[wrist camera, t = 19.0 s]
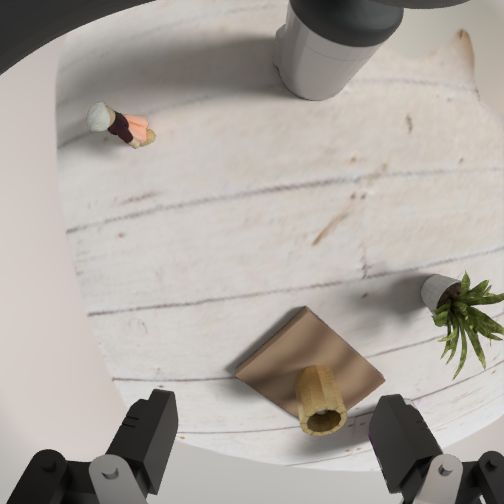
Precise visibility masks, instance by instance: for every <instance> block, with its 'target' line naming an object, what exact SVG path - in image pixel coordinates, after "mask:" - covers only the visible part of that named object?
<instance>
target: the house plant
mask: <svg viewBox="0 0 504 504" xmlns="http://www.w3.org/2000/svg"><path fill="white" fill-rule="evenodd" d="M488 282H489V280H485V281H483V282H481V283H480V284H478V285H477V286H476V287H474V288H473V289H471V290H470V288H469V286H470V279H469V277H468V275H467V273H466V270H465V275H464V277H463V279H462V281H460V280H457V279H453V278H450V277H446V276H442V275H439V274H434V275H432V276H431V277H429V278H428V279H427V280H426V281H425V282H424V284H423V286H422V289H421V298H422V300H423V302H424V303H425V304H426V306H427V307H428V309H429V310H430V311H431V313H432V314H433V316H432V318H433V320H434V322H435V325H436V326H438V327H441V326H448V334H447V337H444V338H442V339H441V340H439V341H447V342H446V346H445V351H444V353H443V354H442V356H441V358H442V357H443V356H444V355H445V354H446V352H447V351H448V350H450V349H452V352H451V356H450V358H449V360H448V361H447V363H448V362H449V361H450V360H451V359H452V357H453V356H454V353H455V351H456V346H457V342H458V337H459V327H460V331H461V337H462V353H461V358H460V363H459V367H458V370H457V372H456V373H455V375H454V377H453V379H454V378H455V377H456V376H457V375H458V373H459V372H460V370H461V369H462V367H463V365H464V362H465V359H466V354H467V342H466V337H465V331H466V332H467V334H468V336H469V338H470V341H471V343H472V345H473V347H474V350H475V352H476V354H477V356H478V358H479V360H480V361H481V362H482V365H483V367H484V369H485V357H484V353H483V350H482V348H481V345H480V343H479V340H478V335H477V332H479V333H481V334H482V335H483V336H485V337H487V338H489V339H490V345H491V339H494V340H503V339H501V338H499V337H497V336H495V335H493V334H491V333H500V334H502V335H504V328H503V327H502V326H501V325H499V324H498V323H496V322H495V321H494V320H492V319H491V318H490V317H489V316H487V315H486V314H485V313H482V312H481V311H479V310H478V309H476V308H474V307H471V306H473V305H486V304H494V303H498V302H501V301H502V300H504V293H503V294H499V295H495V294H490V293H488V292H489V291H490V289H491V286H489V287H488V288H487V289H486V290H485V288H486V287H487V285H488ZM484 290H485V291H484ZM482 291H483V292H482ZM483 296H489V297H483ZM471 297H473V298H471ZM451 325H452V326H453V332H452V333H451ZM464 329H465V331H464ZM451 339H452V341H451ZM450 341H451V343H450ZM503 341H504V340H503ZM447 363H446V364H447Z"/></svg>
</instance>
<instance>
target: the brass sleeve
mask: <svg viewBox="0 0 504 504" xmlns="http://www.w3.org/2000/svg"><path fill="white" fill-rule="evenodd" d="M294 385H295V392H296V399H297V406H298V413H299V421H300V425H301V428H302V431H304V432H305V433H307V434H309V435H313V436H324V435H327V434H331V433H334V432H335V431H337V430H338V429H340V428H341V427H343V425H344V423H345V422H346V420H347V413H346V409H345V406H344V403H343V400H342V397H341V394H340V391H339V388H338V385H337V382H336V379H335V376H334V373H333V371H332V370H330V369H329V368H328V367H326V366H320V365H314V366H310V367H307V368H305V369H303V370H302V371H301V372H300V373H299V374H297V377H296V379H295V382H294ZM326 409H327V410H328V412H326V413H325V414H317V413H316V412H318V411H322V410H326Z"/></svg>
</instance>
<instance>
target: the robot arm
mask: <svg viewBox="0 0 504 504" xmlns="http://www.w3.org/2000/svg"><path fill="white" fill-rule="evenodd" d="M152 1H155V0H0V75H1V74H2V73H4V72H5V71H6V70H8V69H9V68H10V67H12V66H13V65H15V64H16V63H17V62H19V61H20V60H21V59H23V58H24V57H26V56H28V55H29V54H31V53H32V52H34V51H35V50H37V49H39V48H40V47H42V46H43V45H45V44H47V43H49V42H50V41H52V40H54V39H56V38H57V37H59V36H62V35H63V34H66V33H68V32H70V31H72V30H74V29H76V28H78V27H80V26H83V25H85V24H87V23H90V22H92V21H94V20H97V19H100V18H102V17H105V16H107V15H110V14H113V13H116V12H119V11H122V10H125V9H128V8H131V7H134V6H138V5H141V4H145V3H148V2H152ZM467 1H469V0H289V3H288V10H287V17H286V24H284V25H283V26H282V27H280V28H279V29H278V30H277V31H276V38H275V49H274V60H273V64H274V65H275V66H277V68H278V69H279V72H280V77H281V79H282V81H283V83H284V84H285V85H286V87H287V88H288V89H289V90H290V91H292V92H293V93H294V94H296V95H298V96H299V97H302V98H305V99H308V100H326V99H329V98H331V97H334V96H335V95H336V94H338V93H339V92H340V91H341V90H342V89H343V88H344V87H345V85H346V84H347V83H348V82H349V81H350V80H351V78H352V77H353V76H354V75H355V74H356V73H357V72H358V71H359V70H360V68H361V67H362V66H363V65H364V64H365V63H366V62H367V61H368V60H369V59H370V58H371V56H372V55H373V54H374V53H375V52H376V51H377V50H378V49H379V48H380V47H381V46H382V45H383V43H384V42H385V41H386V40H387V39H388V38H389V37H390V36H391V35H392V34H393V33H394V32H395V30H396V29H397V28H398V27H399V25H400V23H401V21H402V18H403V12H404V10H403V9H404V8H410V9H434V8H444V7H450V6H454V5H458V4H462V3H464V2H467ZM177 430H178V413H177V407H176V400H175V394H174V392H172V391H166V390H160V389H154V390H153V391H152V393H151V395H150V397H149V399H148V400H145V399H139V400H138V401H137V402H136V403H134V404H133V405H132V406H131V407H130V409H129V411H128V412H127V414H126V417H125V418H124V420H123V422H122V425H121V426H120V427H119V429H118V431H117V433H116V435H115V437H114V439H113V441H112V443H111V444H110V447H109V448H108V450H107V452H106V453H105V455H102V456H99V457H97V458H96V459H94V460H93V461H92V462H78V461H67V460H65V458H64V457H63V456H62V454H61V453H59V452H57V451H55V450H51V449H46V450H42V451H39V452H37V453H36V454H35V455H34V456H33V458H32V459H31V461H30V463H29V464H28V466H27V468H26V469H25V471H24V473H23V475H22V476H21V478H20V480H19V482H18V483H17V485H16V487H15V489H14V490H13V492H12V494H11V496H10V498H9V499H8V501H7V503H6V504H148V503H147V501H146V498H147V495H148V493H150V494H154V495H157V493H158V490H159V487H160V484H161V481H162V477H163V474H164V471H165V468H166V465H167V462H168V458H169V455H170V452H171V449H172V446H173V443H174V440H175V437H176V434H177ZM369 430H370V436H371V439H372V441H373V444H374V447H375V449H376V452H377V455H378V458H379V461H380V464H381V466H382V469H383V472H384V475H385V478H386V481H387V484H388V487H389V490H390V493H391V494H393V493H397V492H401V493H402V495H403V498H402V500H401V502H400V504H482V503H481V500H480V498H479V497H480V496H481V495H483V498H484V499H485V502H486V504H504V457H503V456H502V455H501V454H500V453H498V452H496V451H488V452H486V453H484V454H483V455H482V456H481V457H480V459H479V460H478V461H472V462H461V461H460V460H459V459H458V458H457V457H455V456H453V455H450V454H443V453H442V451H441V449H440V447H439V445H438V444H437V442H436V440H435V438H434V436H433V435H432V433H431V431H430V429H428V426H427V424H426V422H424V419H423V417H422V416H421V414H420V412H419V411H418V410H417V409H416V408H414V407H413V406H412V405H411V404H408V405H406V403H405V401H404V399H403V398H402V396H401V395H400V394H394V395H386V396H381V398H380V399H379V402H378V404H377V407H376V409H375V412H374V414H373V417H372V419H371V422H370V428H369Z"/></svg>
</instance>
